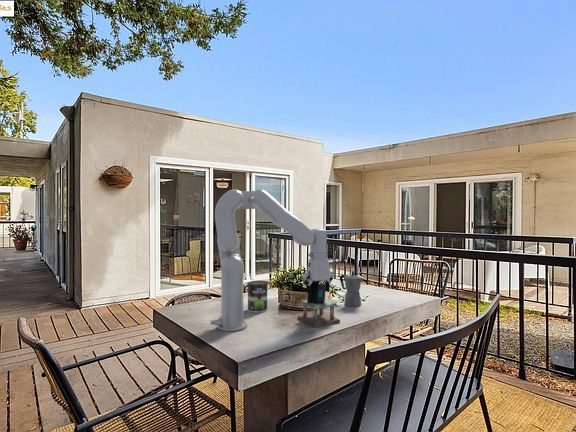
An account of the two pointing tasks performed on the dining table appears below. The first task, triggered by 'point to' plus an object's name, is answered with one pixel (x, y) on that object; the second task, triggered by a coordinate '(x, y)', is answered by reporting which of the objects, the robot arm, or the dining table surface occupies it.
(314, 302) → the speaker
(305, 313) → the peg shelf stand
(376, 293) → the dining table surface
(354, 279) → the coffeepot
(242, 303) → the robot arm
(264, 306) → the coffee can
